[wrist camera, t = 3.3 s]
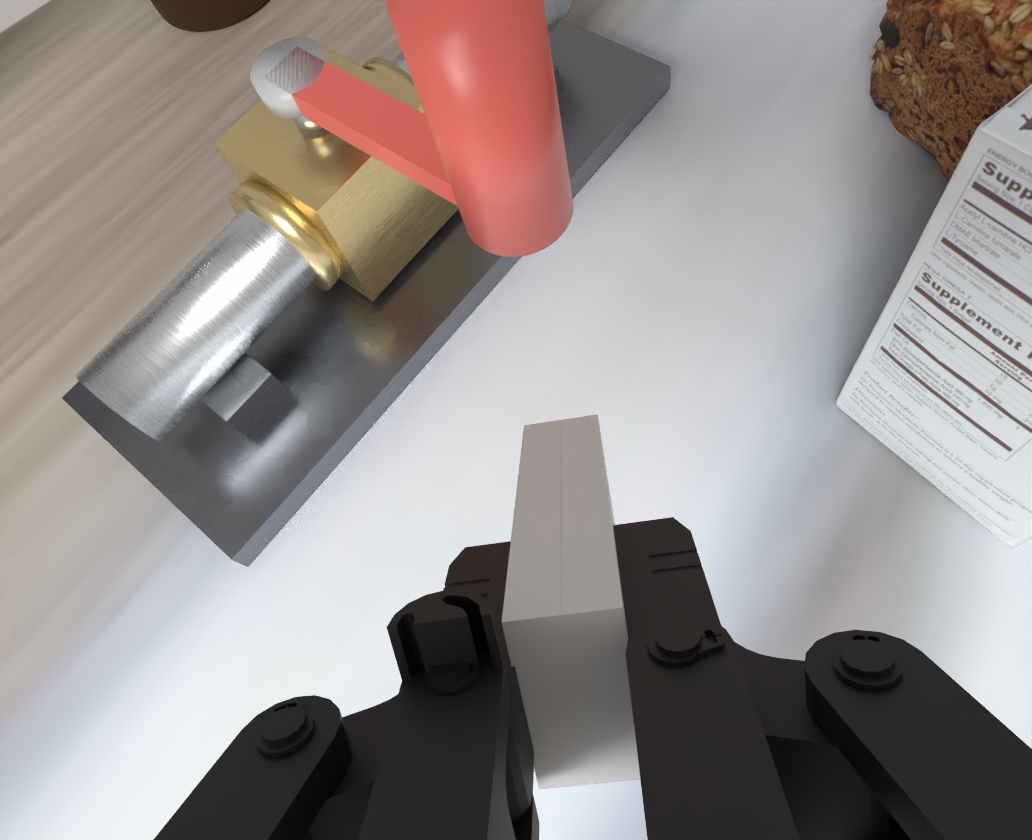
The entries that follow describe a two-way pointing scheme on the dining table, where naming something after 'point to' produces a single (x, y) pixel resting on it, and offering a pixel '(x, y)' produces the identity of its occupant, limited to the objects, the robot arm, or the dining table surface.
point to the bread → (950, 68)
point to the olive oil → (206, 12)
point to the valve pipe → (319, 300)
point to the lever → (450, 114)
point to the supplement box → (964, 337)
